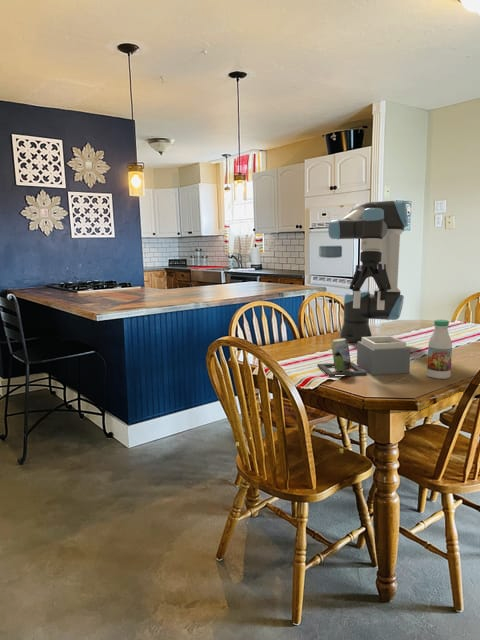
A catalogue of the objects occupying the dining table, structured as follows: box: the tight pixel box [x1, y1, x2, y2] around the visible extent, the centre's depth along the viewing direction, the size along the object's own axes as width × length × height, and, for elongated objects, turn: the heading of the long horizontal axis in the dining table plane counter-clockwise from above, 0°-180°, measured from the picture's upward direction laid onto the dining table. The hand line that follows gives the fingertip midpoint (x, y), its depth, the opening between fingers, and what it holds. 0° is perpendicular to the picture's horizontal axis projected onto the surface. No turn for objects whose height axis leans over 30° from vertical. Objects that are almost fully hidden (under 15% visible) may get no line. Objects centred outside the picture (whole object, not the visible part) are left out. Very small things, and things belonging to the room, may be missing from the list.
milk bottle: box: [426, 319, 453, 380], centre depth 164 cm, size 8×8×20 cm
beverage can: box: [331, 338, 352, 372], centre depth 174 cm, size 6×7×12 cm
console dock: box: [356, 335, 412, 376], centre depth 176 cm, size 15×14×11 cm
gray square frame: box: [316, 361, 368, 377], centre depth 175 cm, size 14×14×1 cm
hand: (368, 309), depth 174 cm, fingers open, 13 cm apart
